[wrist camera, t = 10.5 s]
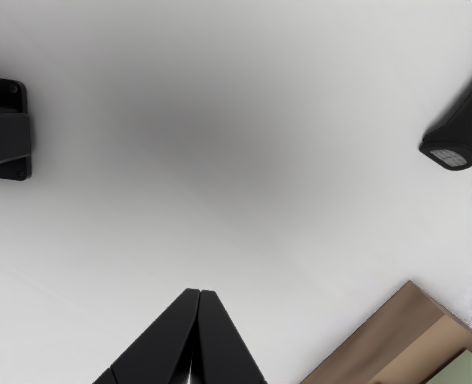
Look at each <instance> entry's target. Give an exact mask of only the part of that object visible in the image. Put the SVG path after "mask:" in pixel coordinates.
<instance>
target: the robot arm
mask: <svg viewBox="0 0 472 384" xmlns="http://www.w3.org/2000/svg"><path fill="white" fill-rule="evenodd" d="M14 86H16V87H17V92H15V91H14V89H13V88H14ZM30 154H31V145H30V129H29V117H28V116H27V103H26V89H25V86H24V85H23V84H22V83H21V82H19V81H15V80H8V79H1V78H0V178H1V179H10V180H18V181H23V180H26V179H28V178H29V177H30V176H31V165H30ZM20 170H21V171H22V172H23V176H22V175H21V174H20ZM192 353H193V354H192ZM191 361H192V362H191ZM190 368H191V371H190ZM189 374H190V384H268V383H267V381H266V380H264V376H263V375H262V373H261V371H260V369H259V368H258V366H257V364H256V362H255V361H254V359H253V357H252V355H251V354H250V352H249V350H248V348H247V347H246V345H245V343H244V341H243V340H242V338H241V336H240V334H239V333H238V331H237V329H236V327H235V325H234V324H233V322H232V320H231V318H230V317H229V315H228V313H227V311H226V310H225V308H224V306H223V304H222V303H221V301H220V299H219V297H218V296H217V294H216V292H215V291H209V290H202V291H201V293H200V290H199V289H190V288H187V289H185V290H184V291H183V292H182V293H181V294H180V295H179V296H178V297H177V298H176V299H175V300H174V302H173V303H172V304H171V305H170V306H169V307H168V308H167V309H166V310H165V311H164V312H163V313H162V314H161V315H160V316H159V317H158V318H157V319H156V320H155V321H154V322H153V323H152V324H151V325H150V326H149V327H148V328H147V329H146V330H145V331H144V332H143V333H142V334H141V335H140V336H139V337H138V338H137V339H136V340H135V341H134V342H133V343H132V344H131V345H130V346H129V347H128V348H127V349H126V350H125V351H124V352H123V353H122V354H121V355H120V356H119V357H118V358H117V359H116V360H115V362H114V363H113V364H112V365H111V366H110V368H107V369H106V370H105V371H104V372H103V373H102V375H101V376H100V377H99V378H98V379H97V380H96V381H95V382H94V383H92V384H187V383H188V379H189Z"/></svg>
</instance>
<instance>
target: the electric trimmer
mask: <svg viewBox="0 0 472 384" xmlns="http://www.w3.org/2000/svg"><path fill="white" fill-rule="evenodd" d="M423 142H424V145H423V146H422V148H421V149H420V152H422V153H423V154H425V155H426V156H428V157H429V158H430V159H432V160H433V161H435V162H436V163H438V164H439V165H441V166H442V167H444V168H445V169H448V170H452V171H458V170H463V169H467V168H469V167H471V166H472V93H471V94H470V95H469V96H468V98H467V99H466V100H465V102H464V103H463V104H462V105H461V107H460V108H459V109H458V110H457V112H456V113H455V114H454V115H453V117H452V118H451V119H450V120H449V122H448V123H447V124H446V125H445V126H443V127H441V128H439V129H437V130H435V131H433V132H431V133H430V134H428V135H426V137H425V138H424V139H423Z"/></svg>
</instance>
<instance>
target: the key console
mask: <svg viewBox="0 0 472 384" xmlns="http://www.w3.org/2000/svg"><path fill="white" fill-rule="evenodd" d="M465 350H469V351H470V352H471V353H472V329H471V328H470V327H469V326H468V325H466V324H465V323H464V322H462V321H461V320H460V319H459V318H457V317H456V316H455V315H453V314H452V313H451V312H450V311H448V310H447V309H446V308H445V307H443V306H442V305H441V304H439V303H438V302H437V301H436V300H434V299H433V298H432V297H430V296H429V295H428V294H427V293H425V292H424V291H423V290H421V289H420V288H419V287H418V286H416V285H415V284H414V283H412V282H411V281H409V282H408V283H407V284H406V285H404V286H403V287H402V288H401V289H400V290H399V291H398V292H397V293H396V294H395V295H394V296H393V297H392V298H391V299H390V300H389V301H388V302H386V303H385V304H384V305H383V306H382V307H381V308H380V309H379V310H378V311H377V312H376V313H375V314H374V315H373V316H372V317H371V318H369V319H368V320H367V321H366V322H365V323H364V324H363V325H362V326H361V327H360V328H359V329H358V330H357V331H356V332H355V333H354V334H352V335H351V336H350V337H349V338H348V339H347V340H346V341H345V342H344V343H343V344H342V345H341V346H340V347H339V348H338V349H337V350H335V351H334V352H333V353H332V354H331V355H330V356H329V357H328V358H327V359H326V360H325V361H324V362H323V363H322V364H321V365H320V366H319V367H317V368H316V369H315V370H314V371H313V372H312V373H311V374H310V375H309V376H308V377H307V378H306V379H305V380H304V381H303V382H302V383H300V384H426V383H427V382H428V381H429V380H431V379H432V378H433V377H434V376H435V375H437V374H438V373H439V372H440V371H441V370H443V369H444V368H445V367H446V366H447V365H449V364H450V363H451V362H452V361H453V360H455V359H456V358H457V357H458V356H459V355H461V354H462V353H463V352H464V351H465Z"/></svg>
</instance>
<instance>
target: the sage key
mask: <svg viewBox="0 0 472 384" xmlns="http://www.w3.org/2000/svg"><path fill="white" fill-rule="evenodd" d="M426 384H472V353H471V352H470V351H469V350H465V351H464V352H463V353H462V354H461V355H459V356H458V357H457V358H456V359H455V360H453V361H452V362H451V363H450V364H449V365H447V366H446V367H445V368H444V369H443V370H441V371H440V372H439V373H438V374H437V375H435V376H434V377H433V378H432V379H431V380H429V381H428V382H427V383H426Z"/></svg>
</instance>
